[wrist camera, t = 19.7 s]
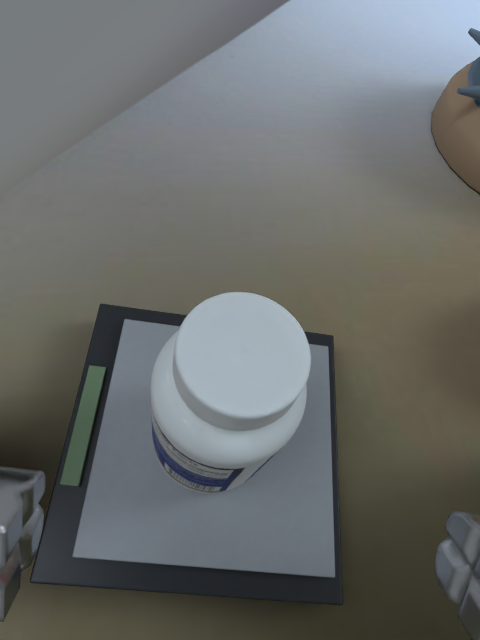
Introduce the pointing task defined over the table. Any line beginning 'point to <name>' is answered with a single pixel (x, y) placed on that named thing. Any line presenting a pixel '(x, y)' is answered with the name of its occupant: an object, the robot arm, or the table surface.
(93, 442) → the kitchen scale
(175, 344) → the pill bottle
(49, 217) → the table surface
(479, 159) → the alarm clock
